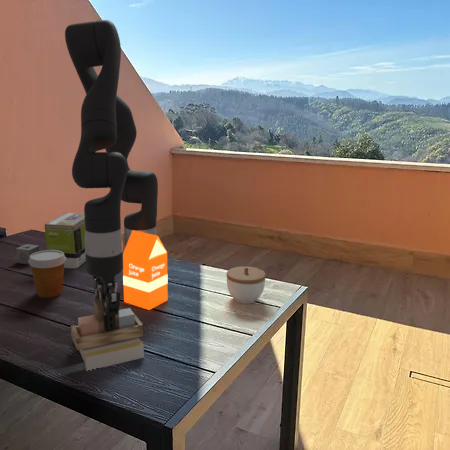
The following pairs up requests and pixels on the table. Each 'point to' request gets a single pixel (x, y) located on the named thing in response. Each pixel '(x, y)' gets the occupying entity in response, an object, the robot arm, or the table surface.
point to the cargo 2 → (126, 318)
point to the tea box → (67, 238)
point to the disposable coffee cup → (48, 272)
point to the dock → (112, 353)
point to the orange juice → (145, 271)
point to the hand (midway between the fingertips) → (107, 325)
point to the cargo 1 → (88, 325)
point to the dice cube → (26, 253)
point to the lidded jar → (245, 283)
